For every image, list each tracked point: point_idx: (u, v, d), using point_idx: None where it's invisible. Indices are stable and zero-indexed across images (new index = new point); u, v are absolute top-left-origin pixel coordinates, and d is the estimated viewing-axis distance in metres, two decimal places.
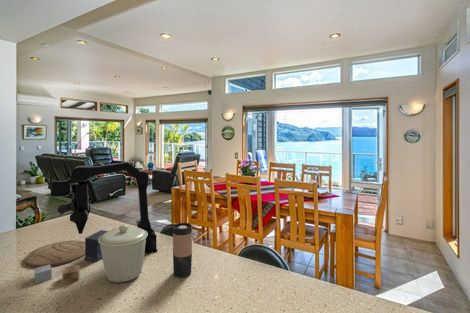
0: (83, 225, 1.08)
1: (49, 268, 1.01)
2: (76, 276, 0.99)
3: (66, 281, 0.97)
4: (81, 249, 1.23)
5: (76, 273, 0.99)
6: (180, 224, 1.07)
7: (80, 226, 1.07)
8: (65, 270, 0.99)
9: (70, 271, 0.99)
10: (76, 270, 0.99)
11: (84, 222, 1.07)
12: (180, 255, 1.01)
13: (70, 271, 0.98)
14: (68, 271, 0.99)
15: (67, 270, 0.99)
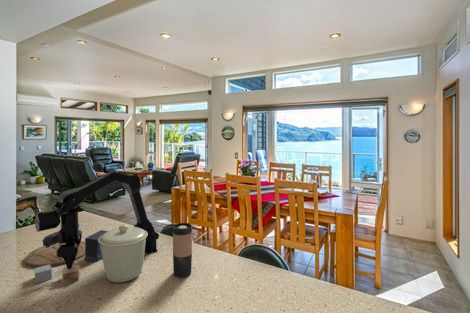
0: (72, 260, 0.95)
1: (49, 268, 1.01)
2: (76, 276, 0.99)
3: (66, 281, 0.97)
4: (81, 249, 1.23)
5: (76, 273, 0.99)
6: (180, 224, 1.07)
7: (69, 261, 0.95)
8: (65, 270, 0.99)
9: (70, 271, 0.99)
10: (76, 270, 0.99)
11: (73, 256, 0.95)
12: (180, 255, 1.01)
13: (71, 271, 0.98)
14: (68, 271, 0.99)
15: (67, 270, 0.99)
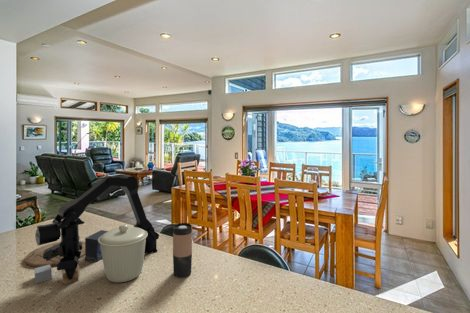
0: (73, 270, 0.97)
1: (49, 268, 1.01)
2: (76, 276, 0.99)
3: (66, 281, 0.97)
4: None
5: (76, 273, 0.99)
6: (180, 224, 1.07)
7: (70, 271, 0.97)
8: None
9: None
10: (76, 270, 0.99)
11: (74, 267, 0.97)
12: (180, 255, 1.01)
13: None
14: None
15: None
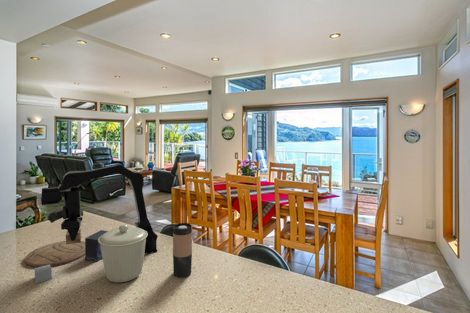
0: (76, 232, 1.05)
1: (49, 268, 1.01)
2: (78, 237, 1.06)
3: (69, 242, 1.05)
4: (81, 249, 1.23)
5: (78, 235, 1.06)
6: (180, 224, 1.07)
7: (73, 233, 1.04)
8: (68, 232, 1.07)
9: None
10: (79, 232, 1.07)
11: (77, 229, 1.04)
12: (180, 255, 1.01)
13: None
14: None
15: None
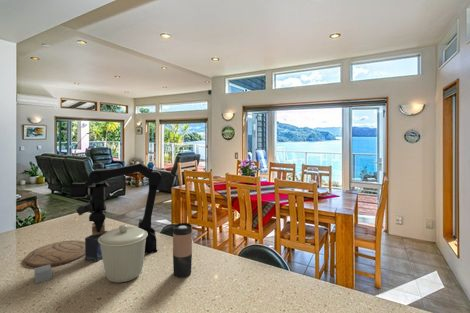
0: (101, 224, 1.15)
1: (49, 268, 1.01)
2: (103, 229, 1.17)
3: (95, 233, 1.16)
4: (81, 249, 1.23)
5: (103, 227, 1.17)
6: (180, 224, 1.07)
7: (98, 225, 1.15)
8: (93, 224, 1.17)
9: None
10: (103, 224, 1.18)
11: (102, 221, 1.15)
12: (180, 254, 1.01)
13: None
14: None
15: None
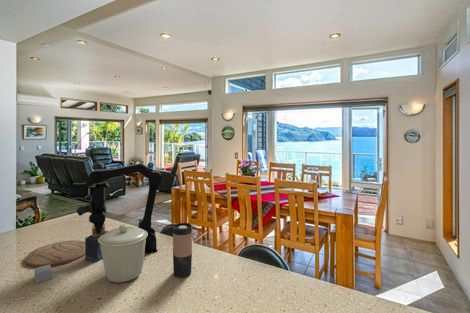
0: (101, 226, 1.13)
1: (49, 268, 1.01)
2: (103, 231, 1.17)
3: (95, 235, 1.16)
4: (81, 249, 1.23)
5: (103, 228, 1.17)
6: (180, 224, 1.07)
7: (98, 227, 1.13)
8: (94, 226, 1.18)
9: None
10: (103, 226, 1.18)
11: (102, 223, 1.13)
12: (180, 254, 1.01)
13: None
14: None
15: None
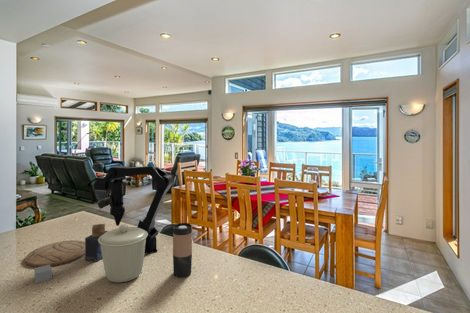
0: (120, 218, 1.22)
1: (49, 268, 1.01)
2: (103, 231, 1.17)
3: (95, 235, 1.16)
4: (81, 249, 1.23)
5: (103, 228, 1.17)
6: (180, 224, 1.07)
7: (117, 219, 1.22)
8: (93, 226, 1.18)
9: (98, 226, 1.17)
10: (103, 226, 1.18)
11: (121, 215, 1.22)
12: (180, 254, 1.01)
13: (98, 227, 1.17)
14: (96, 226, 1.17)
15: (95, 226, 1.17)
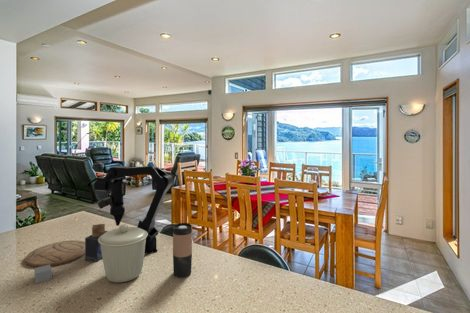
0: (120, 218, 1.22)
1: (49, 268, 1.01)
2: (103, 231, 1.17)
3: (95, 235, 1.16)
4: (81, 249, 1.23)
5: (103, 228, 1.17)
6: (180, 224, 1.07)
7: (118, 219, 1.22)
8: (93, 226, 1.18)
9: (98, 226, 1.17)
10: (103, 226, 1.18)
11: (121, 215, 1.22)
12: (180, 254, 1.01)
13: (98, 227, 1.17)
14: (96, 226, 1.17)
15: (95, 226, 1.17)
